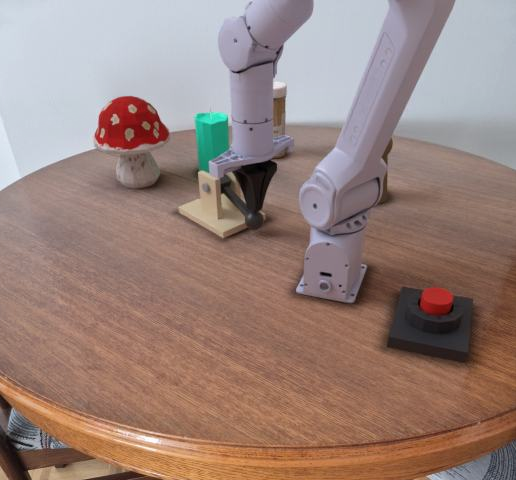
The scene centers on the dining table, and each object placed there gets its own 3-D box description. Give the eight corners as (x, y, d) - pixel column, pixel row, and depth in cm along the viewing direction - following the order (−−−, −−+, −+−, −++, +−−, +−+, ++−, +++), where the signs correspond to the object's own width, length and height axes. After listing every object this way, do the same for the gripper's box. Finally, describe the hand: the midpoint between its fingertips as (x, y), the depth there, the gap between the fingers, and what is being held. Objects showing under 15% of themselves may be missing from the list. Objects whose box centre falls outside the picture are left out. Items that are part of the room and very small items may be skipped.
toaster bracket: (265, 220, 89) (265, 174, 84) (223, 239, 85) (220, 192, 80) (220, 196, 96) (217, 153, 91) (178, 213, 92) (173, 168, 87)
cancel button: (449, 319, 64) (452, 307, 63) (417, 313, 65) (420, 301, 64) (451, 301, 66) (454, 290, 65) (421, 296, 67) (424, 284, 66)
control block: (464, 363, 63) (472, 340, 60) (386, 347, 65) (390, 324, 63) (470, 309, 70) (476, 286, 68) (400, 296, 73) (404, 274, 70)
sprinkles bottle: (260, 157, 110) (259, 86, 101) (267, 149, 113) (267, 79, 104) (281, 160, 108) (282, 88, 100) (288, 151, 112) (289, 81, 103)
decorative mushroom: (191, 175, 103) (183, 92, 94) (144, 204, 94) (130, 115, 85) (134, 161, 109) (121, 81, 99) (85, 188, 100) (65, 102, 90)
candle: (193, 176, 103) (187, 110, 95) (210, 164, 107) (205, 100, 99) (220, 181, 101) (216, 115, 93) (236, 169, 105) (233, 105, 97)
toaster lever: (265, 230, 86) (270, 216, 83) (250, 236, 84) (255, 223, 82) (219, 181, 89) (223, 166, 87) (205, 186, 88) (208, 172, 85)
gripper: (271, 99, 80) (271, 186, 89) (192, 122, 73) (200, 215, 82) (305, 110, 76) (302, 200, 85) (225, 136, 69) (230, 232, 78)
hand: (254, 208), depth 83 cm, fingers closed
